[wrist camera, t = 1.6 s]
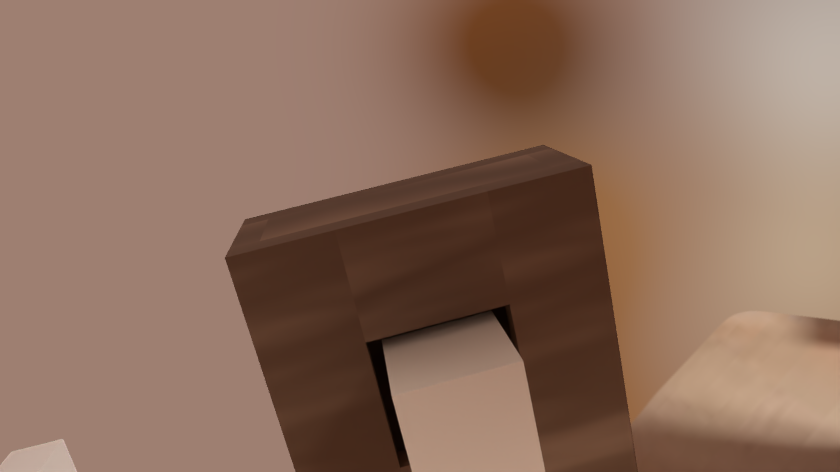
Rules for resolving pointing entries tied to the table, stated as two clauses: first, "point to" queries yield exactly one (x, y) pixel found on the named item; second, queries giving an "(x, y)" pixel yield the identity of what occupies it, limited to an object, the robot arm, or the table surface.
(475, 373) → the top key
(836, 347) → the table surface
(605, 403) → the switch panel
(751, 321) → the table surface
